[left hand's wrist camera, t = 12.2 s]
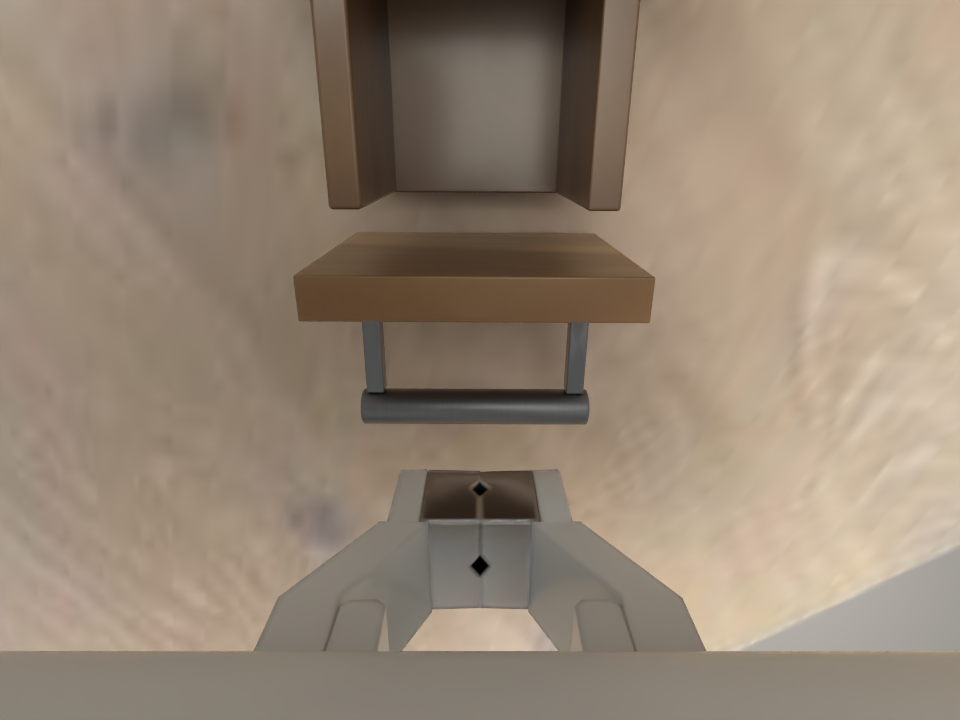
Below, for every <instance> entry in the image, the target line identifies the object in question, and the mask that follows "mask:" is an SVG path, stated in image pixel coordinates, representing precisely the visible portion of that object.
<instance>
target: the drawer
mask: <svg viewBox="0 0 960 720" xmlns="http://www.w3.org/2000/svg"><path fill="white" fill-rule="evenodd" d="M310 3H311V14H312V25H313V36H314V47H315V58H316V69H317V80H318V91H319V102H320V113H321V124H322V134H323V145H324V156H325V167H326V178H327V189H328V200H329V206H330V208H331V209H360V208H363V207H365V206H367V205H369V204H371V203H373V202H375V201H377V200H379V199H381V198H383V197H385V196H387V195H389V194H391V193H393V192H508V193H558V194H560V195H562V196H564V197H566V198H567V199H569V200H571V201H573V202H575V203H576V204H578V205H580V206H582V207H584V208H586V209H587V210H589V211H618V210H620V206H621V196H622V186H623V175H624V165H625V154H626V144H627V133H628V123H629V112H630V102H631V91H632V81H633V70H634V60H635V49H636V39H637V28H638V18H639V7H640V0H310ZM654 284H655V277H653V276H652V275H651V274H649V273H648V272H646V271H645V270H644V269H642V268H641V267H640V266H638V265H637V264H635V263H634V262H633V261H631V260H630V259H629V258H627V257H626V256H624V255H623V254H622V253H620V252H619V251H618V250H616V249H615V248H613V247H612V246H611V245H609V244H608V243H607V242H605V241H604V240H602V239H601V238H600V237H598V236H597V235H596V234H537V233H356V234H355V235H353V236H352V237H350V238H349V239H347V240H346V241H344V242H343V243H341V244H340V245H338V246H337V247H335V248H334V249H332V250H331V251H330V252H328V253H327V254H325V255H324V256H322V257H321V258H319V259H318V260H316V261H315V262H313V263H312V264H310V265H309V266H307V267H306V268H304V269H303V270H301V271H300V272H298V273H297V274H295V275H294V286H295V294H296V302H297V311H298V319H299V321H350V322H362V328H363V342H364V355H365V368H366V381H367V389H364V391H363V393H362V398H361V416H362V420H363V422H364V423H372V424H586V423H587V421H588V417H589V398H588V394H587V391H586V390H583V386H584V374H585V362H586V349H587V337H588V325H589V323H649V322H650V316H651V308H652V300H653V292H654ZM383 322H551V323H568V331H567V346H566V361H565V376H564V389H385V388H386V386H387V384H386V368H385V352H384V336H383Z"/></svg>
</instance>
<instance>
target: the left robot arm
mask: <svg viewBox="0 0 960 720" xmlns="http://www.w3.org/2000/svg"><path fill="white" fill-rule="evenodd" d="M456 608H503V609H528V612H529V613H530V614H531V616H532V617H533V618H534V619H535V621H536V622H537V623H538V625H539V626H540V627H541V629H542V630H543V631H544V633H545V634H546V635H547V636H548V638H549V639H550V640H551V642H552V643H553V644H554V646H555V647H556V648H557V650H558V651H402V650H403V649H404V647H405V646H406V645H407V643H408V642H409V641H410V639H411V638H412V637H413V636H414V634H415V633H416V632H417V630H418V629H419V628H420V627H421V625H422V624H423V623H424V621H425V620H426V619H427V617H428V616H429V615H430V614H431V612H432V609H456ZM0 720H960V651H706V649H705V647H704V645H703V643H702V641H701V638H700V636H699V634H698V632H697V630H696V627H695V625H694V623H693V621H692V618H691V616H690V614H689V612H688V610H687V607H686V605H685V603H684V601H683V599H682V597H680V596H679V595H678V594H676V593H675V592H674V591H672V590H671V589H670V588H668V587H667V586H666V585H664V584H663V583H662V582H660V581H659V580H658V579H656V578H655V577H654V576H652V575H651V574H649V573H648V572H647V571H645V570H644V569H643V568H641V567H640V566H639V565H637V564H636V563H635V562H633V561H632V560H631V559H629V558H628V557H627V556H625V555H624V554H623V553H621V552H620V551H619V550H617V549H616V548H615V547H613V546H612V545H611V544H609V543H608V542H607V541H605V540H604V539H603V538H601V537H600V536H599V535H597V534H596V533H595V532H593V531H592V530H591V529H589V528H588V527H587V526H585V525H584V524H583V523H581V522H573V521H572V517H571V513H570V509H569V505H568V501H567V497H566V493H565V489H564V486H563V482H562V478H561V474H560V471H559V470H557V469H555V470H531V471H491V472H480V471H455V470H429V471H427V470H402V471H401V472H400V473H399V477H398V481H397V485H396V489H395V493H394V497H393V501H392V505H391V509H390V513H389V517H388V521H387V522H379V523H377V524H376V525H375V526H373V527H372V528H371V529H369V530H368V531H367V532H365V533H364V534H363V535H361V536H360V537H359V538H357V539H356V540H355V541H353V542H352V543H350V544H349V545H348V546H346V547H345V548H344V549H342V550H341V551H340V552H338V553H337V554H336V555H334V556H333V557H332V558H330V559H329V560H328V561H326V562H325V563H324V564H322V565H321V566H320V567H318V568H317V569H316V570H314V571H313V572H312V573H310V574H309V575H308V576H306V577H305V578H303V579H302V580H301V581H299V582H298V583H297V584H295V585H294V586H293V587H291V588H290V589H289V590H287V591H286V592H285V593H283V594H282V595H281V596H279V597H278V599H277V601H276V604H275V606H274V608H273V610H272V612H271V614H270V617H269V619H268V621H267V623H266V625H265V628H264V630H263V632H262V634H261V636H260V638H259V641H258V643H257V645H256V647H255V649H254V651H0Z"/></svg>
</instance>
